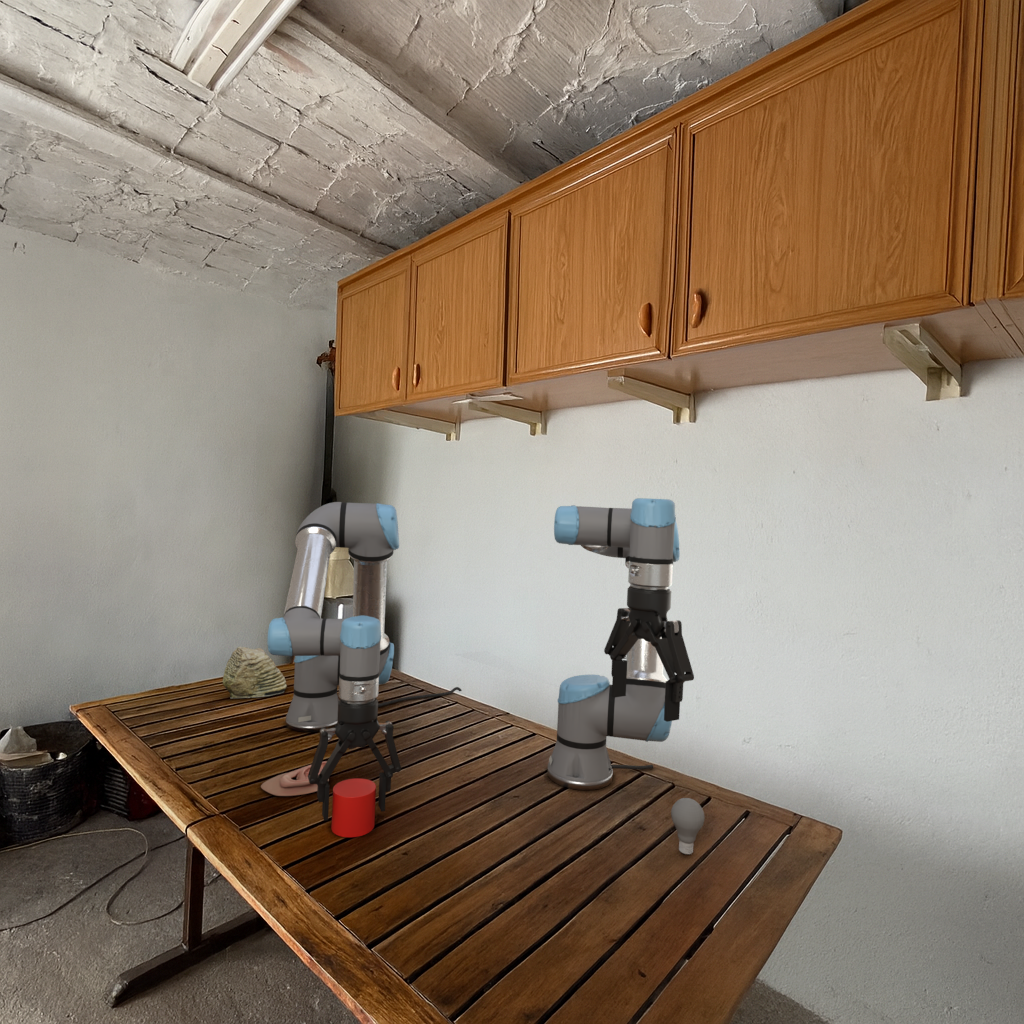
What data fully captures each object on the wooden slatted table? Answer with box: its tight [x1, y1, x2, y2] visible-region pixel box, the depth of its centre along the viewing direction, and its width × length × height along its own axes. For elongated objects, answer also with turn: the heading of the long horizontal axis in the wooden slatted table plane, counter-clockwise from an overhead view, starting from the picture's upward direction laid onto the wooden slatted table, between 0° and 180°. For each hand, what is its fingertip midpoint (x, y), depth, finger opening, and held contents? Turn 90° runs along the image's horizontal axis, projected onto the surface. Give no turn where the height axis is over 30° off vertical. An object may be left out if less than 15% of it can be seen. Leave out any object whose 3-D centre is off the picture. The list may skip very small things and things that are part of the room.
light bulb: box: [670, 797, 706, 855], centre depth 118 cm, size 6×6×10 cm
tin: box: [330, 777, 377, 838], centre depth 122 cm, size 8×8×8 cm
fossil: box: [222, 646, 288, 699], centre depth 198 cm, size 9×18×15 cm, turn 132°
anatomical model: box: [260, 760, 330, 797], centre depth 138 cm, size 13×4×12 cm
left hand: (353, 812), depth 122 cm, fingers open, 10 cm apart
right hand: (643, 707), depth 111 cm, fingers open, 13 cm apart
